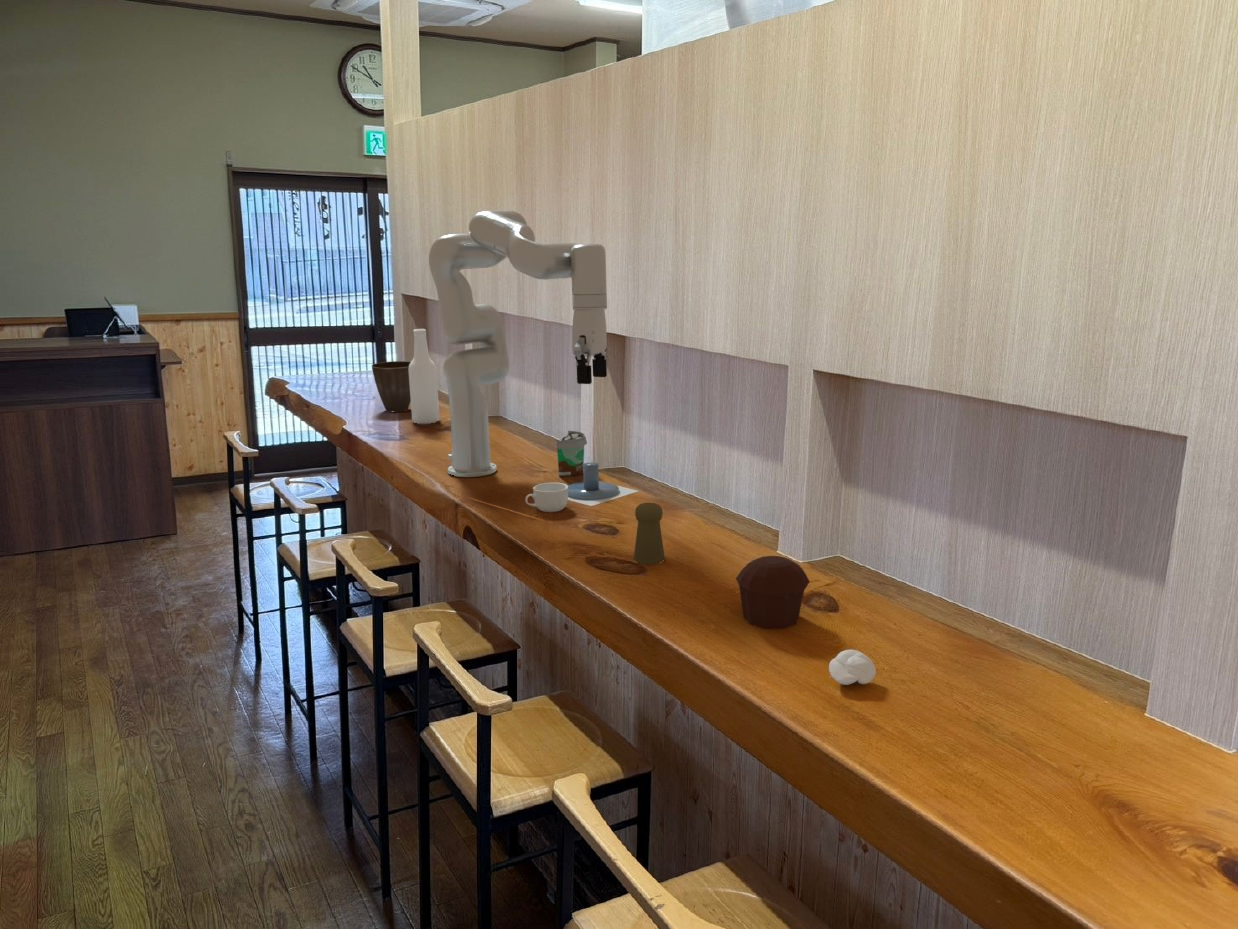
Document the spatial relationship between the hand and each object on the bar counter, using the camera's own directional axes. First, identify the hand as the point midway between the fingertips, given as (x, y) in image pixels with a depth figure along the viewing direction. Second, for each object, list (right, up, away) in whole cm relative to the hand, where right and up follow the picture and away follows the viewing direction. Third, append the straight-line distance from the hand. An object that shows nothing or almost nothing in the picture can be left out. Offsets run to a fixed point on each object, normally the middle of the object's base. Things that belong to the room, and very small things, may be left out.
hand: (592, 380), depth 210 cm
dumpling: (+38, -49, -78) cm, 100 cm away
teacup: (-10, -29, +2) cm, 31 cm away
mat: (-1, -26, +14) cm, 29 cm away
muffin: (+31, -44, -56) cm, 78 cm away
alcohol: (-57, -5, +97) cm, 113 cm away
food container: (-5, -21, +32) cm, 39 cm away
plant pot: (-71, 0, +117) cm, 137 cm away
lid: (-1, -25, +14) cm, 29 cm away
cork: (+12, -37, -29) cm, 49 cm away
